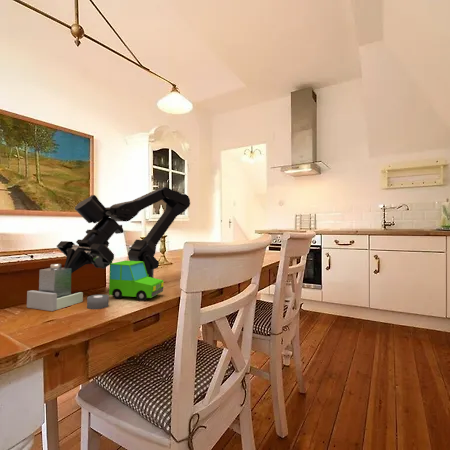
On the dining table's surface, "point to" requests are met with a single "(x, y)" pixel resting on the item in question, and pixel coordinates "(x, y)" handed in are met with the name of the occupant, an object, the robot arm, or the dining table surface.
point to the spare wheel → (97, 301)
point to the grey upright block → (55, 280)
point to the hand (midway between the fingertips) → (64, 275)
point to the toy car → (132, 281)
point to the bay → (51, 300)
